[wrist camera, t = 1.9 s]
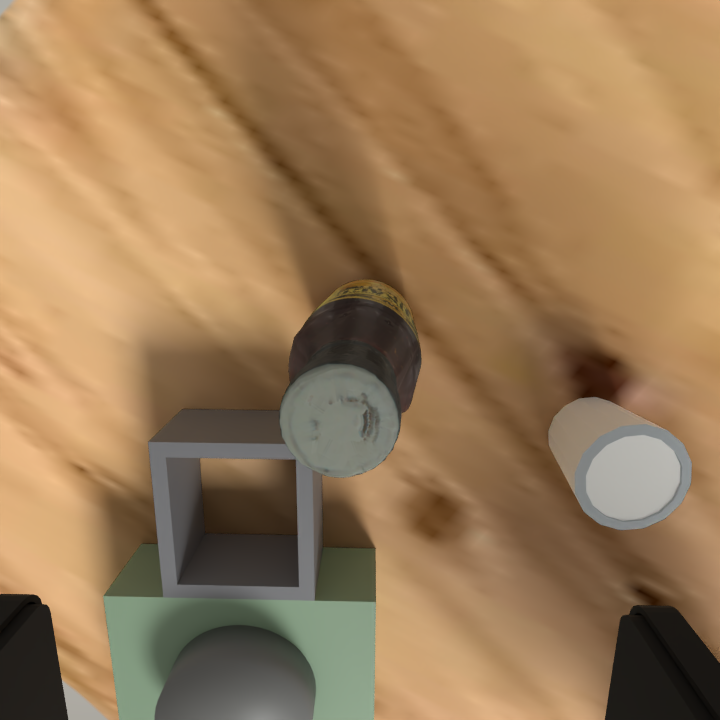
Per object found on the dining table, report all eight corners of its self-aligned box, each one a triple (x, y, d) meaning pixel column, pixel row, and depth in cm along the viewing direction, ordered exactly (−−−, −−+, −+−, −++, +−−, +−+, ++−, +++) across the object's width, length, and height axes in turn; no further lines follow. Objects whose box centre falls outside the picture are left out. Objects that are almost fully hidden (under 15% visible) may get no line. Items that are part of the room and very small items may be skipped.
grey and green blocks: (377, 411, 38) (378, 467, 29) (373, 697, 44) (373, 814, 36) (127, 408, 39) (54, 462, 30) (157, 692, 45) (104, 805, 36)
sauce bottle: (429, 308, 36) (493, 405, 17) (379, 383, 38) (385, 550, 18) (347, 255, 36) (317, 293, 16) (299, 333, 37) (218, 453, 18)
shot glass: (575, 495, 39) (617, 552, 33) (519, 428, 38) (551, 472, 31) (655, 440, 38) (716, 486, 31) (600, 368, 37) (651, 401, 30)
